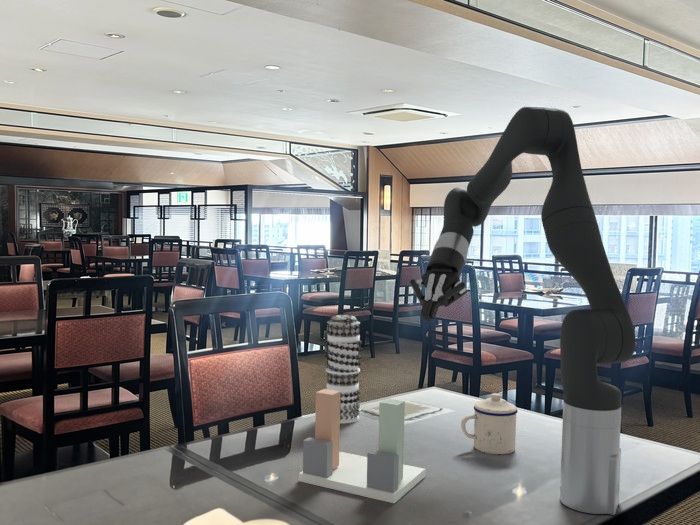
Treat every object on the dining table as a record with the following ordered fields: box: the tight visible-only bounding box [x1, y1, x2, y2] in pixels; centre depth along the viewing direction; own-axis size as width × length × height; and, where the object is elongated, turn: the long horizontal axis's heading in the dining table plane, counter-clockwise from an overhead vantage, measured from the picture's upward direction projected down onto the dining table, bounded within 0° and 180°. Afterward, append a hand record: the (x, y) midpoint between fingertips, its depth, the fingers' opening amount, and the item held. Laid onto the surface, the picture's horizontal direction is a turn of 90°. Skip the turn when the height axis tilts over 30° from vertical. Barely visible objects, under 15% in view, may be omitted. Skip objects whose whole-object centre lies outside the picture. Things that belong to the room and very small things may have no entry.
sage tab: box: [377, 398, 406, 483], centre depth 116 cm, size 4×3×14 cm
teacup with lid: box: [460, 393, 518, 455], centre depth 139 cm, size 12×9×12 cm
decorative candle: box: [323, 314, 363, 424], centre depth 159 cm, size 9×9×25 cm
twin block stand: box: [298, 436, 426, 504], centre depth 121 cm, size 19×14×8 cm
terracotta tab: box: [314, 388, 341, 470], centre depth 122 cm, size 4×3×14 cm
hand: (426, 318), depth 135 cm, fingers closed
